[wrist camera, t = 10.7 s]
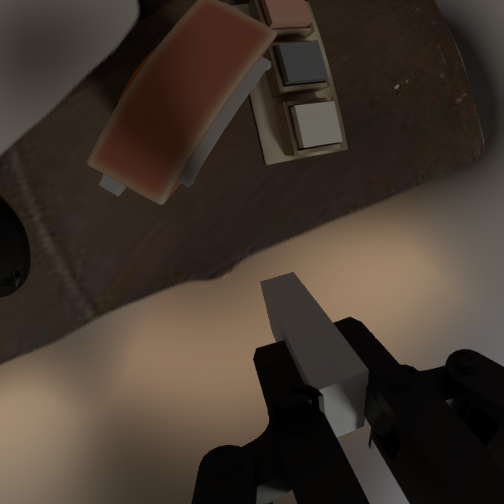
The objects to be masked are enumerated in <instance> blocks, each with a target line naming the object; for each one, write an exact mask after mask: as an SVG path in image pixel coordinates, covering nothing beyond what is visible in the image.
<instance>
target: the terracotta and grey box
mask: <svg viewBox="0 0 504 504" xmlns="http://www.w3.org/2000/svg"><path fill="white" fill-rule="evenodd" d="M276 36H277V32H276V31H275V30H273V29H271V28H270V27H268V26H266V25H265V24H263V23H261V22H259V21H257V20H256V19H254V18H252V17H250V16H248V15H246V14H245V13H243V12H242V11H241V10H239V9H237V8H235V7H233V6H231V5H228V4H226V3H224V2H220V1H218V0H198V1H197V2H196V3H195V4H194V5H193V6H192V7H191V8H190V9H189V10H188V11H187V12H186V13H185V14H184V16H183V17H182V18H181V19H180V20H179V21H178V22H177V24H176V25H175V26H174V27H173V28H172V29H171V31H170V32H169V33H168V34H167V35H166V37H165V38H164V39H163V40H162V42H161V43H160V44H159V45H158V46H157V47H156V48H155V49H154V50H153V51H152V52H151V53H150V54H148V56H147V57H146V58H145V59H144V60H143V62H142V63H141V64H140V65H139V67H138V68H137V69H136V71H135V72H134V73H133V75H132V77H131V78H130V80H129V82H128V83H127V85H126V87H125V89H124V90H123V92H122V94H121V97H120V99H119V101H118V104H117V106H116V108H115V110H114V112H113V113H112V115H111V117H110V119H109V120H108V122H107V124H106V126H105V127H104V129H103V131H102V133H101V135H100V137H99V139H98V140H97V142H96V144H95V146H94V148H93V150H92V152H91V154H90V156H89V158H88V161H87V163H88V165H89V166H91V167H92V168H94V169H96V170H98V171H100V172H101V173H103V175H102V177H101V180H100V182H99V185H100V186H101V187H102V188H104V189H106V190H108V191H110V192H111V193H113V194H115V195H117V196H119V195H120V194H121V193H122V192H123V191H124V190H125V188H126V186H127V187H128V188H130V189H132V190H134V191H136V192H137V193H139V194H141V195H143V196H145V197H146V198H148V199H150V200H152V201H154V202H155V203H157V204H161V205H162V204H163V203H165V202H166V200H167V199H168V198H169V197H170V195H171V194H172V193H173V192H174V190H175V189H176V188H177V187H178V186H179V184H180V183H182V184H184V185H185V186H187V187H189V186H190V185H192V184H193V183H194V182H195V178H194V177H195V176H196V175H197V172H198V171H199V169H200V167H201V166H202V164H203V162H204V161H205V159H206V158H207V156H208V154H209V153H210V151H211V150H212V148H213V146H214V145H215V143H216V142H217V140H218V139H219V137H220V135H221V134H222V132H223V131H224V129H225V128H226V126H227V125H228V123H229V122H230V120H231V119H232V117H233V116H234V114H235V113H236V111H237V110H238V108H239V107H240V106H241V104H242V103H243V101H244V100H245V98H246V97H247V96H248V95H249V93H250V91H251V90H252V89H253V87H254V86H255V84H256V83H257V82H258V80H259V79H260V77H261V76H262V75H263V73H264V72H265V71H266V69H267V70H269V69H270V67H271V61H269V60H267V59H266V58H264V57H263V55H264V54H265V52H266V51H267V49H268V48H269V46H270V45H271V43H272V42H273V40H274V39H275V37H276ZM269 65H270V66H269ZM191 182H192V183H191Z"/></svg>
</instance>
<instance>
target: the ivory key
mask: <svg viewBox="0 0 504 504" xmlns="http://www.w3.org/2000/svg"><path fill="white" fill-rule="evenodd" d="M289 113H290V117H291V122H292V126H293V131H294V135H295V140H296V144H297V148H306V147H312V146H318V145H324V144H330V143H337V142H343V141H342V136H341V131H340V126H339V121H338V116H337V112H336V107H335V103H334V101H332V102H322V103H312V104H304V105H296V106H293V107H291V108H289Z"/></svg>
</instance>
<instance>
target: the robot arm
mask: <svg viewBox="0 0 504 504" xmlns="http://www.w3.org/2000/svg"><path fill="white" fill-rule="evenodd" d="M29 269H30V248H29V243H28V239H27V236H26V233H25V230H24V228H23V226H22V224H21V222H20V220H19V219H18V217H17V216H16V215H15V213H14V212H13V211H12V210H11V209H10V208H8V207H7V206H6V205H4V204H2V203H0V298H1V297H5V296H9V295H11V294H13V293H14V292H15V291H16V290H17V289H19V288H20V287H21V286H22V285H23V284H24V282H25V280H26V278H27V276H28V273H29ZM260 283H261V287H262V291H263V296H264V300H265V304H266V308H267V313H268V317H269V320H270V325H271V329H272V333H273V335H274V337H275V340H276V343H273V344H270V345H266V346H262V347H259V348H257V349H256V351H255V354H254V358H253V361H254V364H255V367H256V371H257V375H258V378H259V381H260V385H261V388H262V391H263V395H264V399H265V402H266V405H267V409H268V415H269V424H268V426H267V428H266V430H265V431H264V432H263V433H262V435H261V436H259V437H258V438H257V439H255V440H254V441H252V442H250V443H248V444H246V445H245V446H243V447H239V446H233V445H225V446H219V447H217V448H215V449H213V450H211V451H209V452H208V453H207V454H206V455H205V456H204V457H203V459H202V461H201V463H200V465H199V470H198V475H197V480H196V484H195V489H194V494H193V499H192V504H273V501H274V500H275V499H277V498H279V497H280V496H282V495H284V494H286V493H287V492H289V491H290V490H292V489H293V492H294V495H295V498H296V501H297V504H370V503H369V502H368V499H367V497H366V495H365V494H364V491H363V490H362V487H361V485H360V483H359V482H358V479H357V477H356V476H355V473H354V471H353V469H352V468H351V465H350V464H349V461H348V459H347V458H346V455H345V453H344V451H343V449H342V447H341V445H340V443H339V441H338V440H337V437H339V436H341V435H344V434H346V433H349V432H351V431H354V430H356V429H358V428H360V427H363V426H364V422H365V418H366V419H367V421H368V423H369V424H370V425H371V433H370V439H369V448H370V449H373V446H374V443H375V445H376V447H377V448H378V450H379V452H380V453H381V455H382V457H383V459H384V460H385V462H386V464H387V465H388V467H389V469H390V470H391V472H392V474H393V476H394V477H395V479H396V481H397V482H398V484H399V486H400V487H401V489H402V491H403V493H404V495H405V496H406V498H407V500H408V501H409V503H410V504H504V367H503V366H501V365H500V364H498V363H496V362H494V361H492V360H490V359H489V358H487V357H485V356H483V355H481V354H480V353H478V352H475V351H473V350H470V349H461V350H458V351H455V352H453V353H452V354H451V355H449V357H448V359H447V360H446V364H445V366H442V367H438V368H434V369H430V370H425V371H418V370H416V369H415V368H414V367H412V366H408V365H400V364H399V363H398V362H397V361H396V360H395V359H394V357H393V356H392V355H391V354H390V353H389V352H388V351H387V350H386V349H385V347H384V346H383V345H382V344H381V343H380V342H379V341H378V340H377V339H376V338H375V336H374V335H373V334H372V333H371V332H369V330H368V329H367V328H366V327H365V325H364V324H363V323H362V322H360V321H358V320H356V319H354V318H352V317H348V318H345V319H342V320H340V321H337V322H334V323H333V322H332V321H331V320H330V319H329V317H328V316H327V315H326V313H325V312H324V311H323V309H322V308H321V307H320V306H319V304H318V303H317V302H316V300H315V299H314V298H313V296H312V295H311V294H310V293H309V291H308V290H307V289H306V288H305V286H304V285H303V284H302V283H301V281H300V280H299V279H298V277H297V276H296V275H295V274H294V272H292V273H289V274H285V275H282V276H278V277H275V278H272V279H268V280H264V281H261V282H260Z"/></svg>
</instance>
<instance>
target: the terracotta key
mask: <svg viewBox="0 0 504 504" xmlns="http://www.w3.org/2000/svg"><path fill="white" fill-rule="evenodd" d="M259 3H260V6H261V9H262V13H263V16H264V19H265V22H266V26H268V27H270V28H271V29H273V30H274V29H290V28H306V27H307V26H308V25H309V24H310V23H311V22H312V20H311V17H310V14H309V12H308V9H307V6H306V3H305V0H259Z"/></svg>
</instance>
